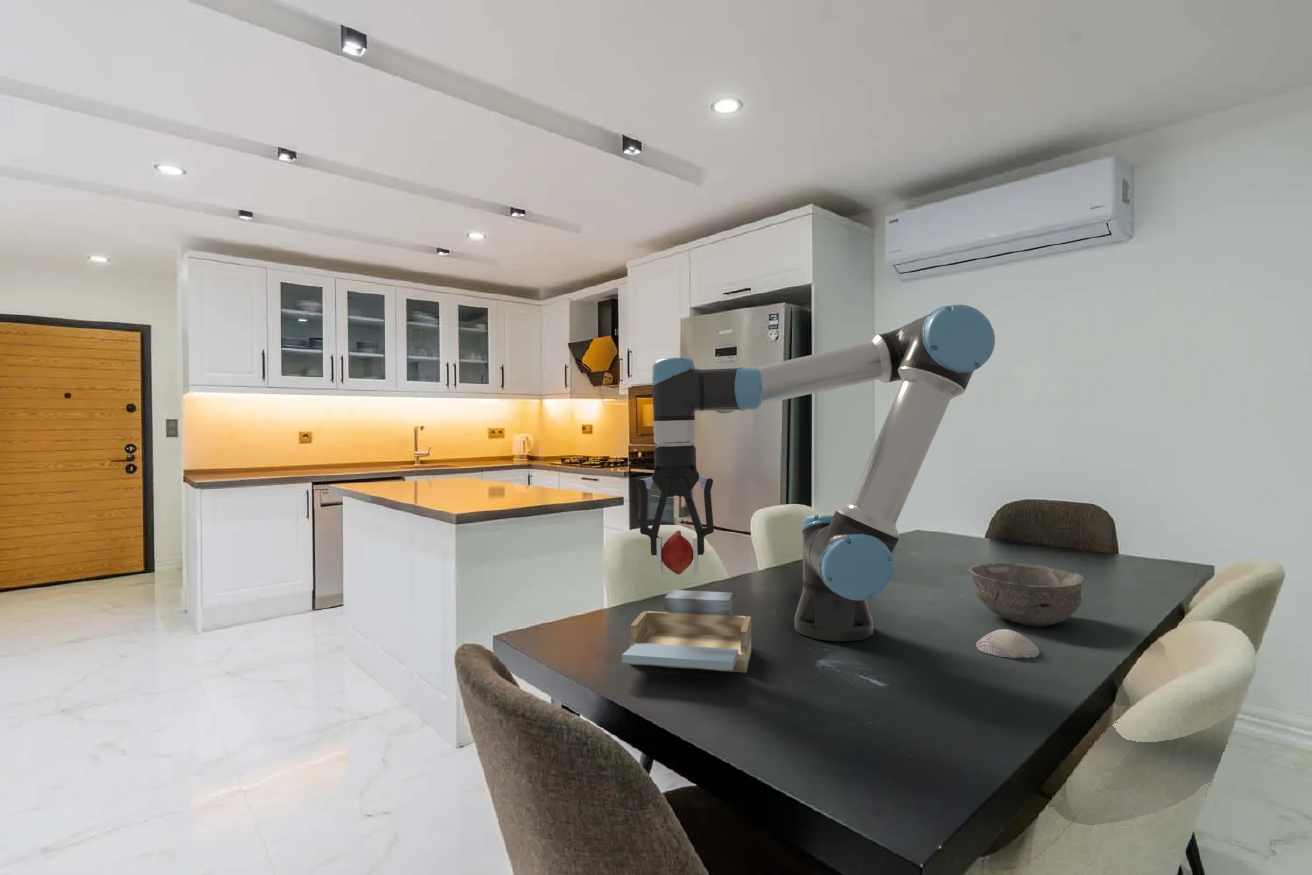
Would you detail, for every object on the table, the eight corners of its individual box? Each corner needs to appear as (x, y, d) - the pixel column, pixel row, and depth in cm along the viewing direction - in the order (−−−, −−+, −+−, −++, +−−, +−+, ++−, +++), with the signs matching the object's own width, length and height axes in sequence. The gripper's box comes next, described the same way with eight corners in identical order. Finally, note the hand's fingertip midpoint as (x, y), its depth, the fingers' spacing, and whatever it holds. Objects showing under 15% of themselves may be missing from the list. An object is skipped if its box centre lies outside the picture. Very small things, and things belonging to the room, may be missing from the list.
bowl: (973, 629, 128) (973, 579, 128) (966, 603, 148) (966, 559, 147) (1097, 641, 121) (1097, 587, 121) (1072, 612, 140) (1072, 566, 140)
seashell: (981, 641, 113) (971, 613, 122) (981, 669, 114) (971, 640, 123) (1048, 645, 110) (1032, 616, 119) (1047, 674, 111) (1031, 643, 120)
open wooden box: (753, 640, 123) (753, 593, 123) (746, 672, 107) (745, 618, 107) (651, 634, 128) (651, 588, 128) (629, 664, 111) (628, 612, 111)
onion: (660, 578, 114) (659, 533, 114) (663, 570, 120) (661, 527, 120) (693, 578, 114) (692, 532, 114) (694, 570, 120) (693, 527, 120)
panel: (738, 649, 107) (732, 662, 98) (738, 659, 107) (732, 673, 98) (636, 642, 111) (621, 654, 102) (636, 652, 111) (621, 665, 102)
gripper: (727, 443, 119) (730, 568, 120) (626, 445, 121) (629, 568, 122) (727, 443, 112) (730, 577, 112) (619, 446, 114) (623, 577, 114)
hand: (678, 572), depth 117 cm, fingers closed on onion, 6 cm apart
